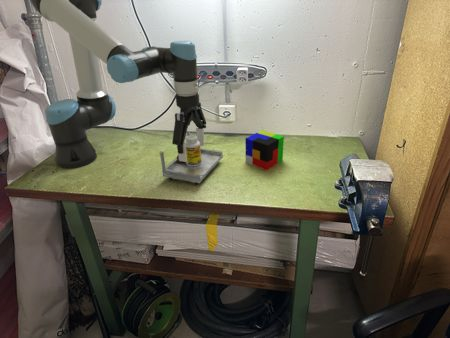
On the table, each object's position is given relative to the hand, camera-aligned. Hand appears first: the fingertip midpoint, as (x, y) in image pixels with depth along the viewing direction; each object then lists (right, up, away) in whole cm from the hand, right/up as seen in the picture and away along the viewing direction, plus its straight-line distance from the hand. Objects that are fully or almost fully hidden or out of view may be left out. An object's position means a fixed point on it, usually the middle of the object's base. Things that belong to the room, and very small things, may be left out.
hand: (192, 152), depth 107 cm
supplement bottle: (0, -4, +2) cm, 5 cm away
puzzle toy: (+27, -3, +8) cm, 28 cm away
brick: (-2, -3, +8) cm, 9 cm away
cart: (+1, -6, +3) cm, 7 cm away
